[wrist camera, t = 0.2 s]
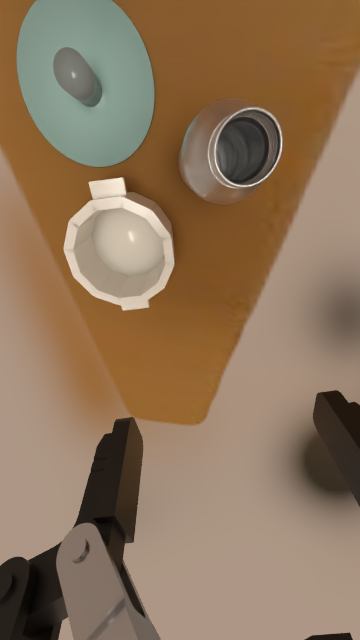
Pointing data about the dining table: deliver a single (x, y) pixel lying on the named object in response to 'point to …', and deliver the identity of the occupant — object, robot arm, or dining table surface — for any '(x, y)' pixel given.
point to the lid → (86, 79)
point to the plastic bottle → (230, 150)
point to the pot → (120, 245)
